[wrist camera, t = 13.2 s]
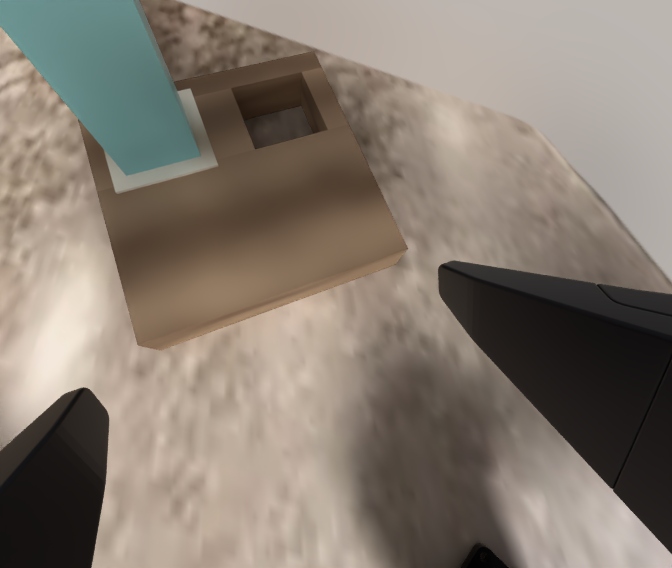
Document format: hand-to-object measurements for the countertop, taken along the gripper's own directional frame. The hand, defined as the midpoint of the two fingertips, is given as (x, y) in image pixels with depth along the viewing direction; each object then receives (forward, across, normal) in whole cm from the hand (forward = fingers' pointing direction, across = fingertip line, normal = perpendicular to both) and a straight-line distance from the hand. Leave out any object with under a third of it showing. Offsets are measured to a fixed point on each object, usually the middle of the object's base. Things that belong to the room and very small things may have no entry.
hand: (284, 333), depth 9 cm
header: (+18, 0, +1) cm, 18 cm away
